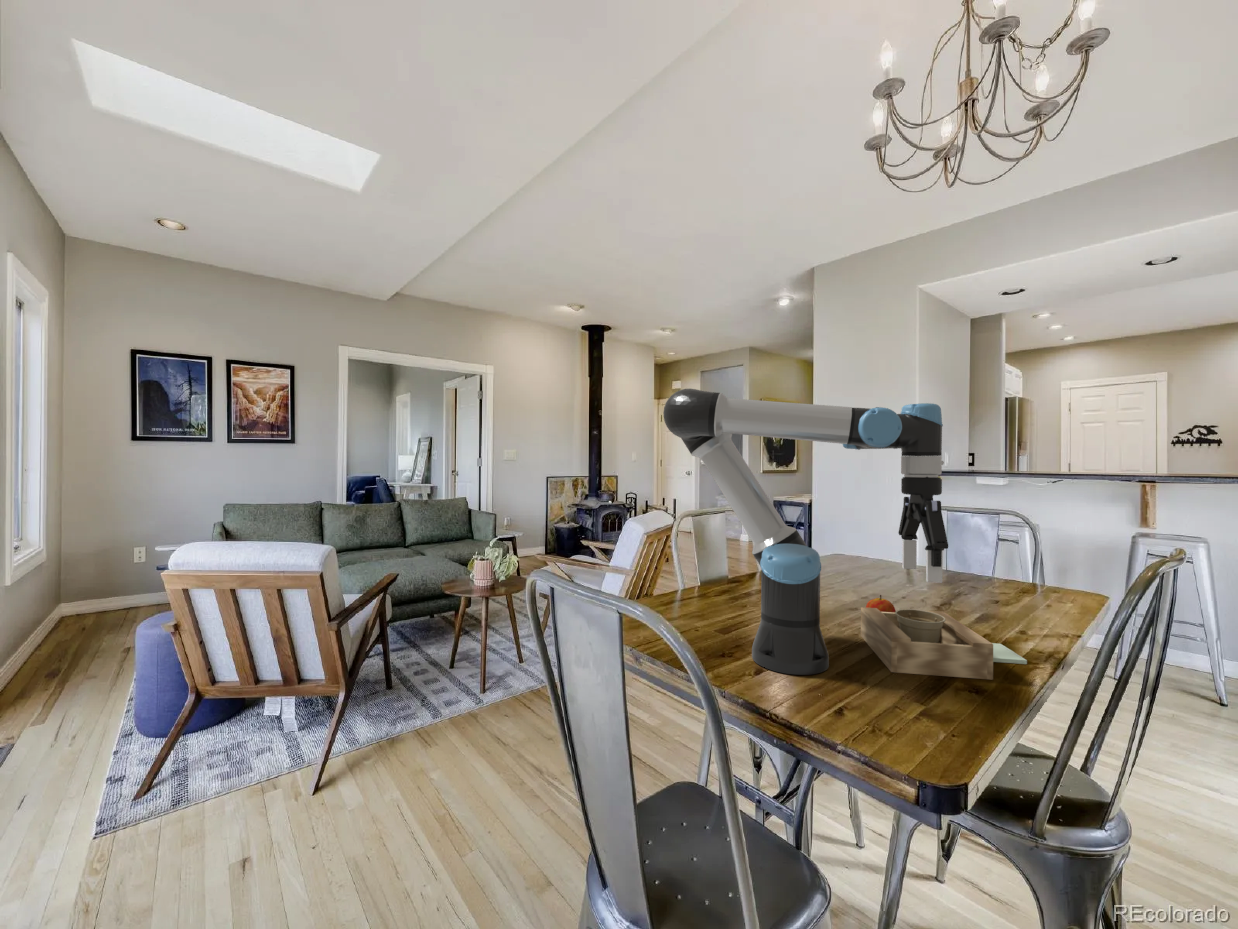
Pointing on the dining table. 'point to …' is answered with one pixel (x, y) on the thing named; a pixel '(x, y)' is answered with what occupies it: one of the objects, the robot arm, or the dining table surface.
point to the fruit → (881, 605)
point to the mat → (1006, 655)
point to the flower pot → (920, 625)
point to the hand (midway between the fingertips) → (921, 575)
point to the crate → (928, 647)
